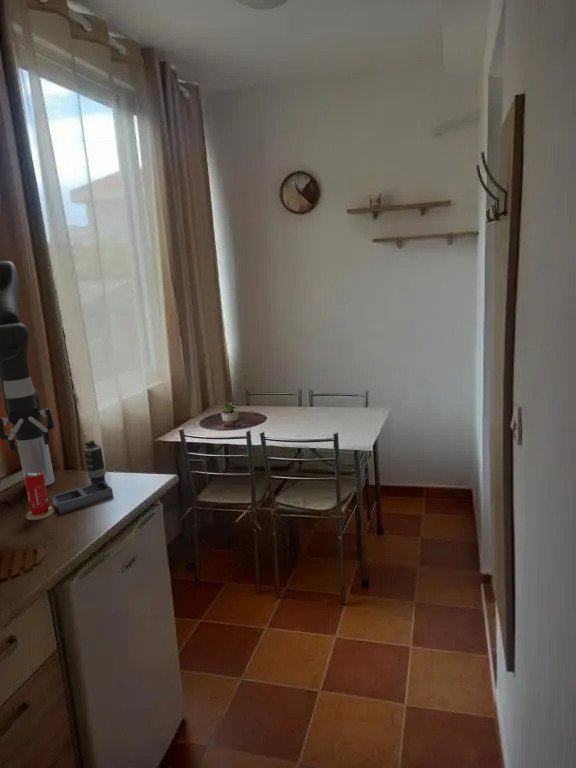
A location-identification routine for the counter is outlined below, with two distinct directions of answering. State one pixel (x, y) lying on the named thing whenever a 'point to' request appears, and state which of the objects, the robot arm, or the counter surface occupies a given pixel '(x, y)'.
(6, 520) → the counter surface
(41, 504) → the beverage can
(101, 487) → the rack frame
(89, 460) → the grenade
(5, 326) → the robot arm
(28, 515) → the coaster
